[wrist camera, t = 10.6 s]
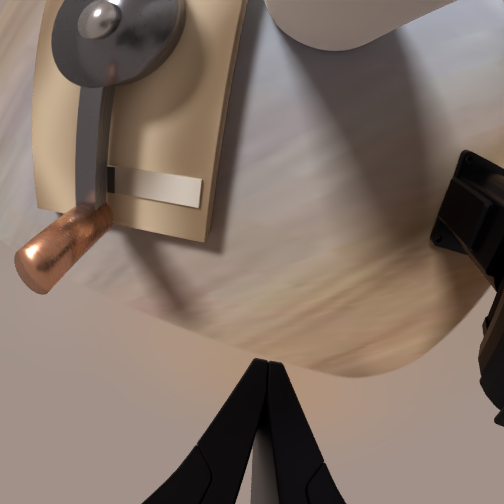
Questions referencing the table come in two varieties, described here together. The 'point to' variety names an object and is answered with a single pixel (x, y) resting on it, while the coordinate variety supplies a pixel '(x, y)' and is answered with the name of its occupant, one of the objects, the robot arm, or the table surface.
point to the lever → (96, 114)
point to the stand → (146, 127)
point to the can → (345, 19)
